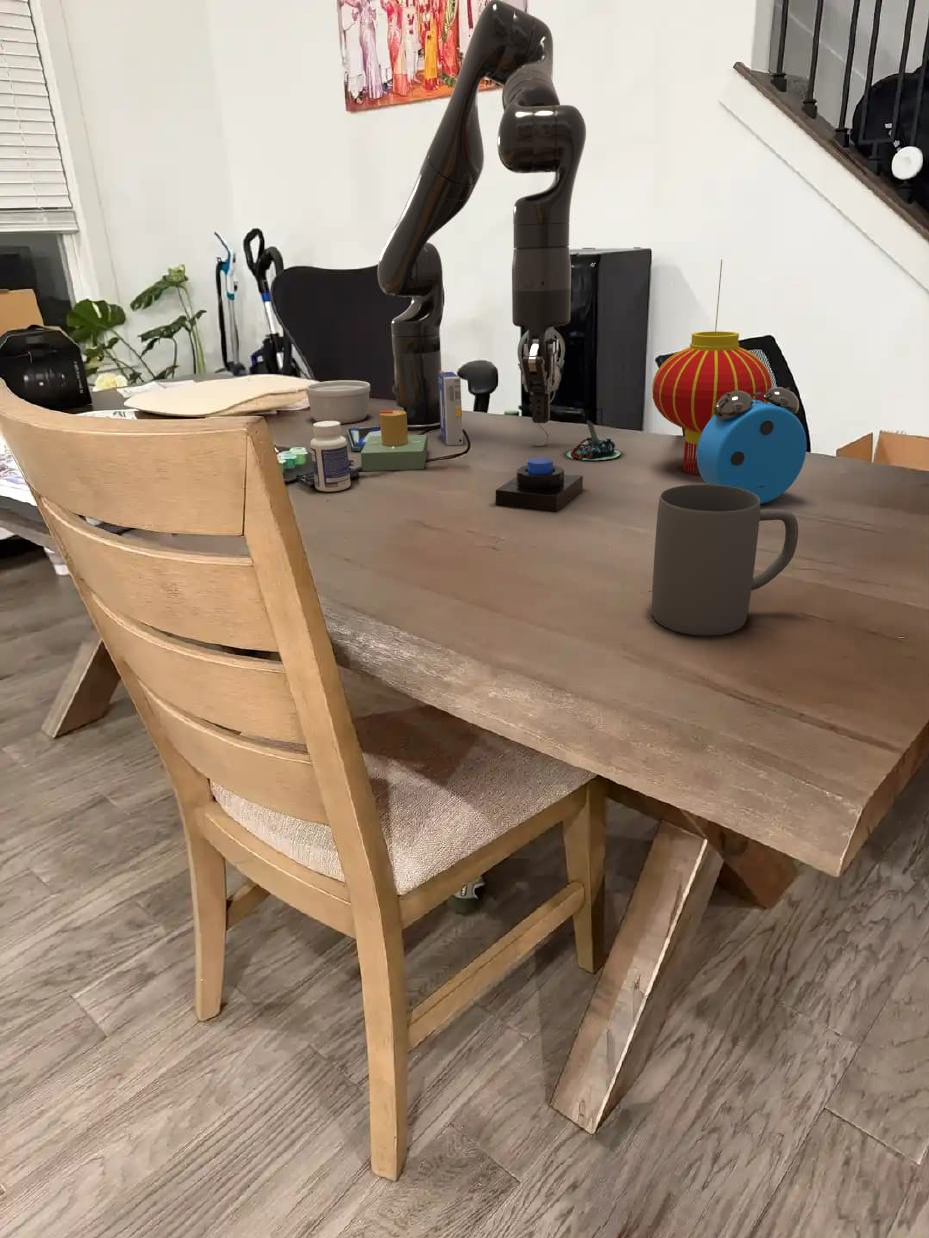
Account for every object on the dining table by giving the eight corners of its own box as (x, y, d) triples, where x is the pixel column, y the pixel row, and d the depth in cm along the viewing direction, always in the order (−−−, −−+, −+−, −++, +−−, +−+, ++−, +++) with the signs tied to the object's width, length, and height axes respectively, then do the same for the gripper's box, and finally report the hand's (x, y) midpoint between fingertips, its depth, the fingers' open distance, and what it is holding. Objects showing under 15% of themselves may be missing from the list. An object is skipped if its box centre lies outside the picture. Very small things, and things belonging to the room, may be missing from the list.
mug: (669, 641, 77) (679, 515, 72) (638, 602, 86) (644, 487, 81) (810, 628, 79) (829, 504, 74) (765, 591, 87) (780, 477, 82)
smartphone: (352, 447, 148) (346, 428, 162) (352, 453, 149) (346, 433, 162) (393, 444, 150) (384, 425, 163) (394, 449, 150) (385, 430, 163)
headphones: (559, 441, 151) (560, 324, 143) (567, 446, 148) (569, 326, 139) (515, 445, 149) (514, 327, 141) (522, 450, 146) (521, 329, 138)
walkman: (440, 436, 158) (437, 370, 153) (455, 435, 158) (452, 369, 153) (447, 446, 151) (444, 377, 146) (463, 444, 151) (460, 376, 146)
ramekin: (377, 412, 182) (375, 379, 179) (365, 425, 170) (363, 390, 167) (317, 413, 183) (314, 380, 180) (301, 426, 171) (297, 391, 168)
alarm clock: (776, 490, 119) (789, 381, 113) (801, 502, 114) (817, 389, 108) (691, 499, 117) (700, 389, 110) (713, 512, 111) (724, 396, 105)
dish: (612, 447, 135) (588, 414, 138) (578, 476, 138) (556, 443, 141) (632, 460, 142) (609, 428, 145) (599, 488, 145) (577, 456, 148)
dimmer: (370, 453, 148) (369, 435, 146) (427, 451, 147) (426, 433, 146) (362, 471, 137) (360, 451, 135) (423, 469, 137) (422, 450, 135)
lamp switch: (525, 484, 126) (525, 458, 125) (582, 490, 123) (583, 463, 121) (495, 505, 117) (495, 477, 116) (556, 512, 114) (556, 483, 112)
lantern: (784, 468, 129) (811, 256, 117) (715, 491, 120) (737, 263, 107) (693, 450, 142) (709, 256, 129) (624, 470, 132) (633, 262, 119)
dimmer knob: (409, 439, 143) (407, 408, 140) (406, 445, 139) (404, 413, 136) (383, 440, 143) (381, 408, 141) (380, 446, 139) (377, 414, 137)
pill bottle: (357, 484, 130) (351, 420, 125) (338, 494, 125) (332, 428, 121) (328, 481, 132) (321, 418, 128) (308, 490, 127) (300, 426, 123)
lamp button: (533, 468, 121) (532, 456, 120) (556, 470, 119) (556, 458, 118) (523, 475, 118) (523, 462, 117) (547, 477, 116) (547, 464, 116)
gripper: (561, 289, 102) (559, 433, 109) (578, 282, 113) (576, 413, 120) (500, 290, 104) (503, 431, 111) (523, 284, 115) (524, 412, 122)
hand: (541, 421), depth 115 cm, fingers closed
